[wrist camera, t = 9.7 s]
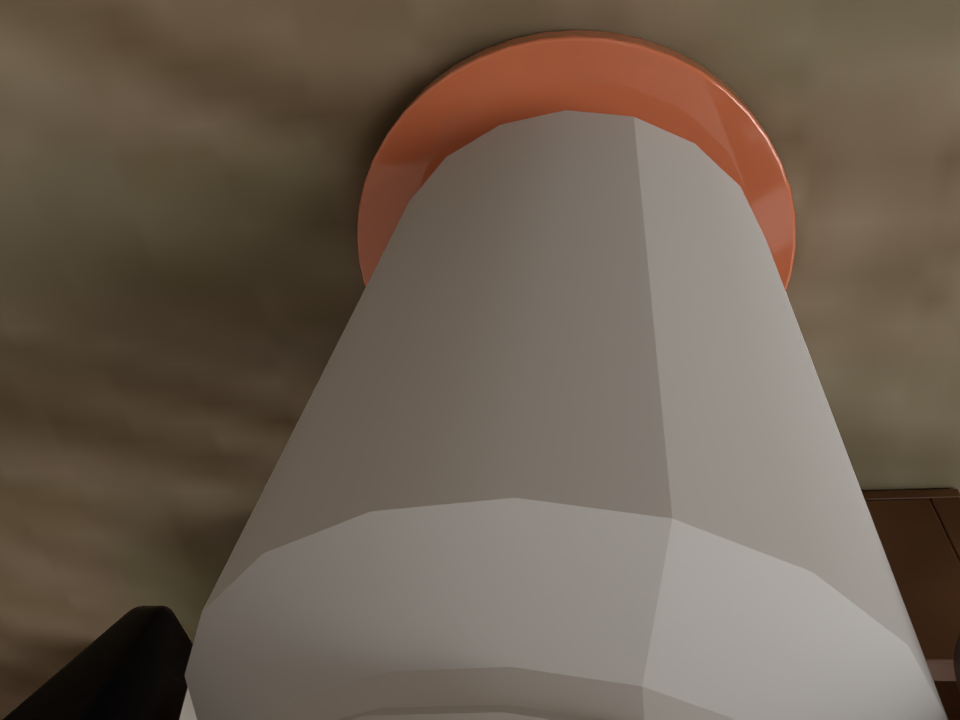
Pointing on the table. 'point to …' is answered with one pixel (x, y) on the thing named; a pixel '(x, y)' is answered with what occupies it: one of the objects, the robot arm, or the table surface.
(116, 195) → the table surface
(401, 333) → the can
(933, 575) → the wooden tray
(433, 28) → the table surface
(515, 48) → the coaster
